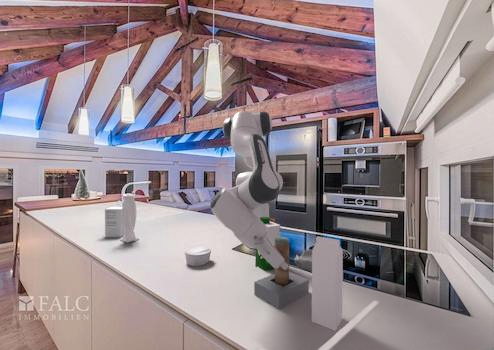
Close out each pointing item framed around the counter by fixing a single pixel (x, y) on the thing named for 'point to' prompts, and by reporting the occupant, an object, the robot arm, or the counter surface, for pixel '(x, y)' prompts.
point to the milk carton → (272, 234)
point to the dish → (305, 260)
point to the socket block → (281, 290)
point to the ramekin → (197, 255)
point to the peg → (283, 248)
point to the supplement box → (113, 222)
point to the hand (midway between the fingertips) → (283, 263)
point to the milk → (327, 282)
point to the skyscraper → (129, 217)
